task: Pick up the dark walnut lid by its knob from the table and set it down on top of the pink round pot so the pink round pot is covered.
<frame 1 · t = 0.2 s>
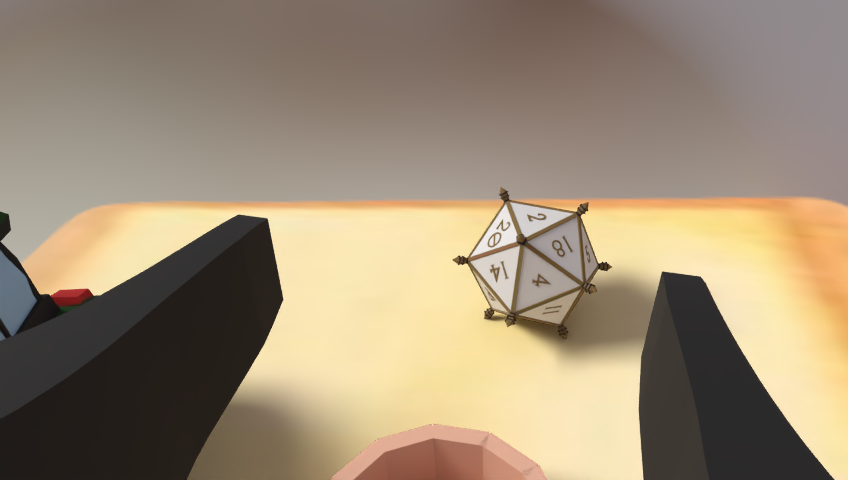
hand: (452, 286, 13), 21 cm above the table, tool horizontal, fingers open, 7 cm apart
game die: (531, 315, 44), on the table
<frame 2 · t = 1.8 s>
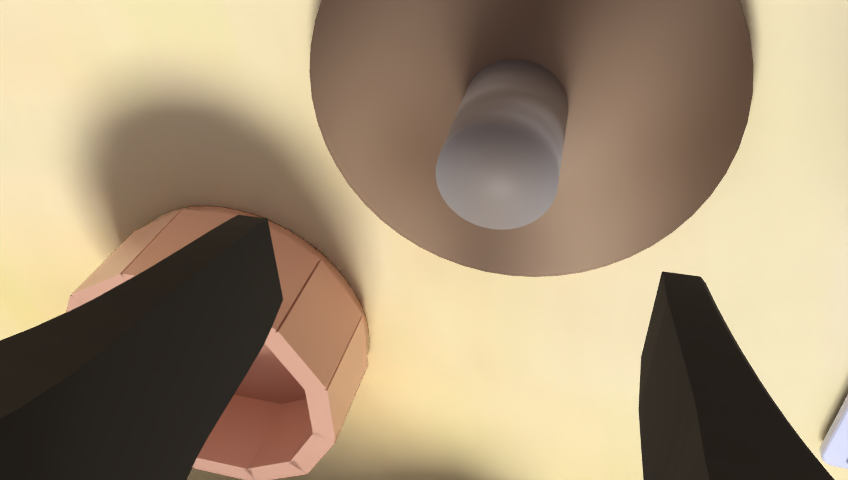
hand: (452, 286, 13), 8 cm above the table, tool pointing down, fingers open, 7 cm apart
lid: (518, 96, 19), on the table
pink round pot: (247, 312, 27), on the table
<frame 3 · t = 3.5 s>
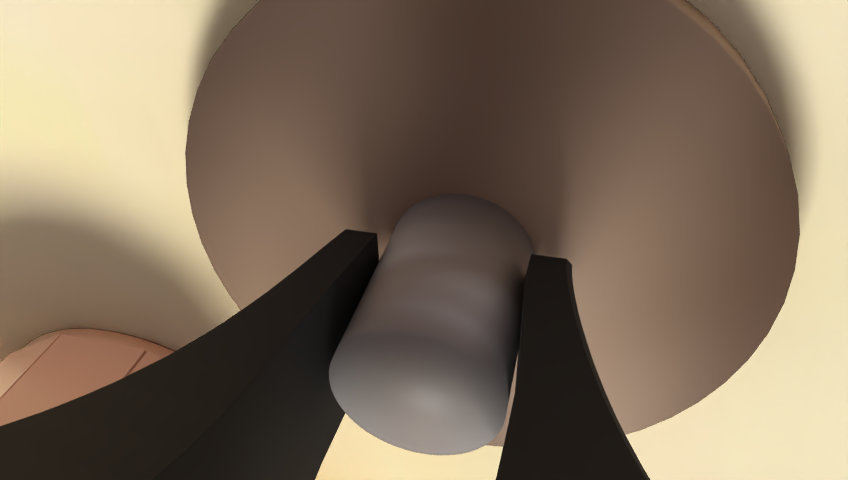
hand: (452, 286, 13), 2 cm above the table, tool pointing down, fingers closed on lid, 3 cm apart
lid: (470, 230, 14), on the table, touching gripper
pink round pot: (158, 443, 22), on the table
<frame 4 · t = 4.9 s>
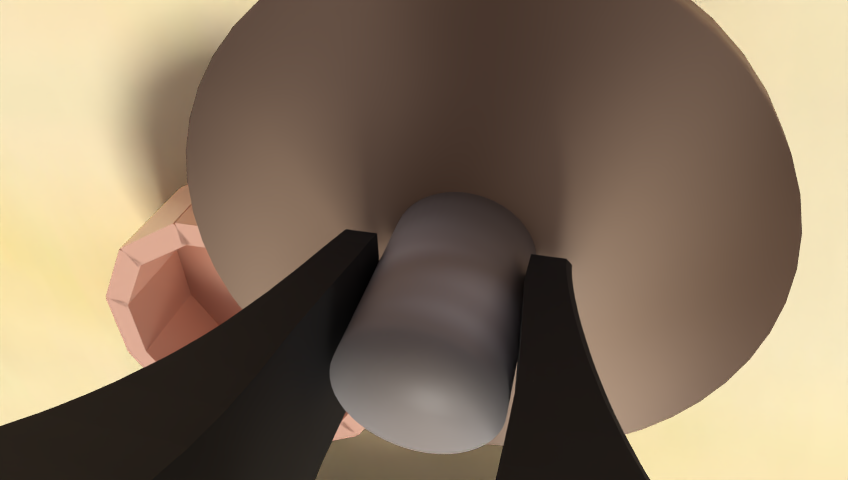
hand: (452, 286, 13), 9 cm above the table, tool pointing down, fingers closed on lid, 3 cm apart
lid: (471, 229, 14), point 7 cm above the table, touching gripper
pink round pot: (292, 273, 26), on the table
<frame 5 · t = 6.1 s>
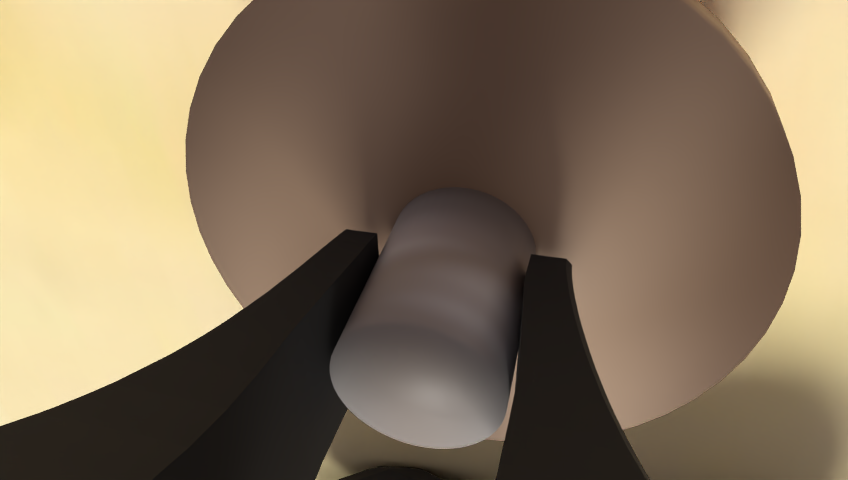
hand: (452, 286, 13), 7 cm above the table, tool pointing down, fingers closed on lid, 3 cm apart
lid: (471, 224, 14), point 5 cm above the table, touching gripper
when the fingers open (7 cm above the table, at t = 6.6 s): lid stays where it is, resting on pink round pot.
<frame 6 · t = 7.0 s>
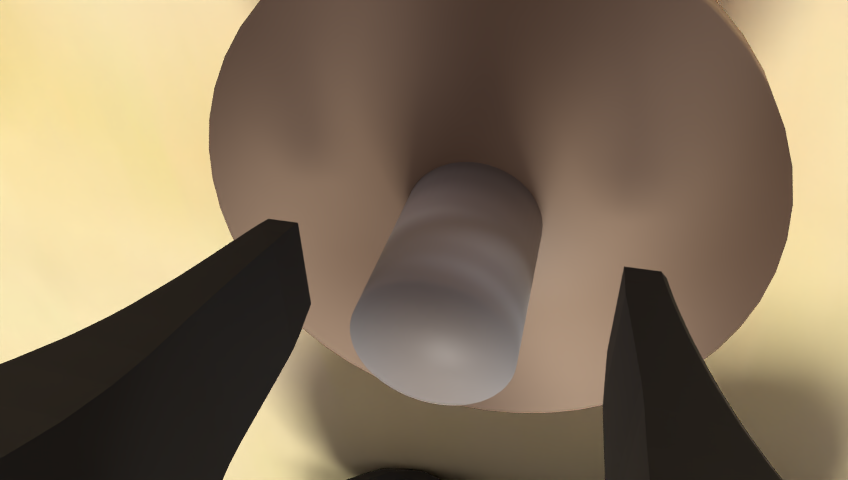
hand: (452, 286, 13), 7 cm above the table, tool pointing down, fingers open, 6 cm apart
lid: (480, 200, 15), point 4 cm above the table, touching pink round pot
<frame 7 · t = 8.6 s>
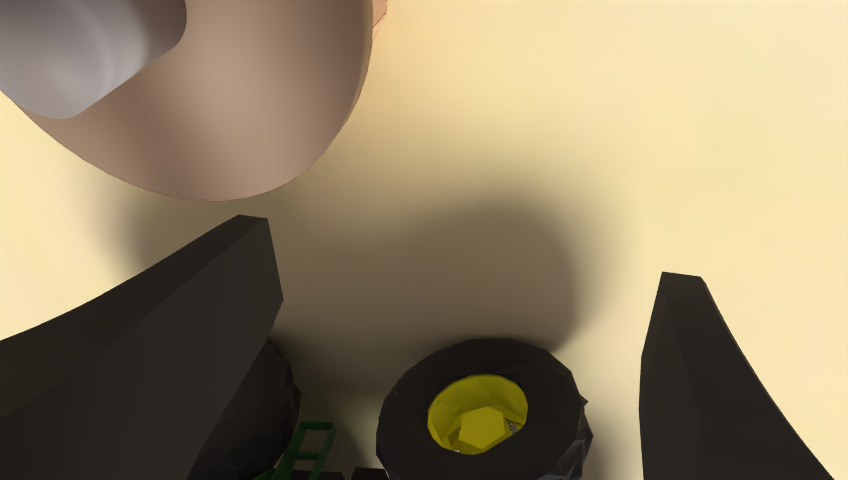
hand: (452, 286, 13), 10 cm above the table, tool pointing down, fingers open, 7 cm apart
toy tractor: (378, 425, 33), on the table
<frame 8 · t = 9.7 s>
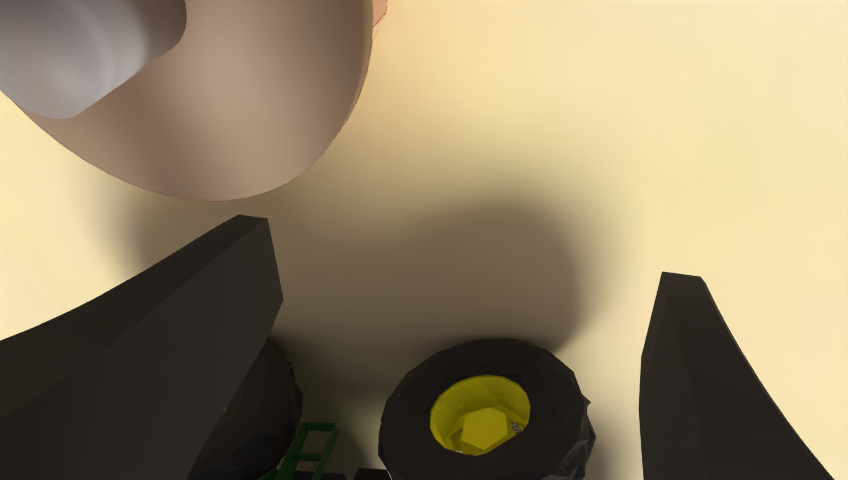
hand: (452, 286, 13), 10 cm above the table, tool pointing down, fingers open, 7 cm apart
toy tractor: (380, 425, 33), on the table
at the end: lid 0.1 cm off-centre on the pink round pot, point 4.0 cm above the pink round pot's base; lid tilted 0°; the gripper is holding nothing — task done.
